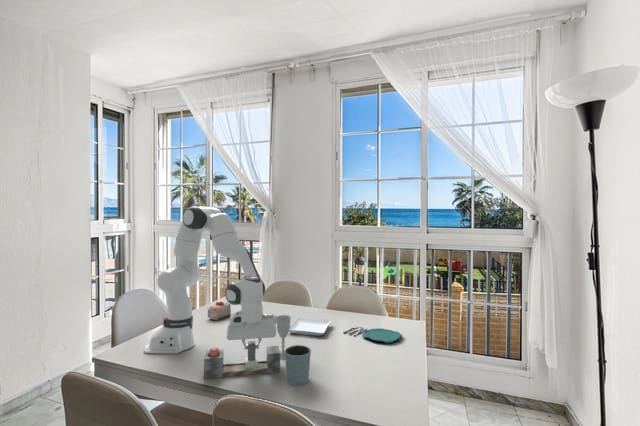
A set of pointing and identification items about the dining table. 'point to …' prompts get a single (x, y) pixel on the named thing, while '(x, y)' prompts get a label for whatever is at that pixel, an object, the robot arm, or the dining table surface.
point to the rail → (240, 365)
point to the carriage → (251, 356)
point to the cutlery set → (379, 335)
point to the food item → (219, 310)
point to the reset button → (214, 352)
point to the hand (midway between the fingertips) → (251, 348)
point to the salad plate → (309, 326)
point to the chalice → (283, 331)
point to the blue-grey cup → (297, 364)
